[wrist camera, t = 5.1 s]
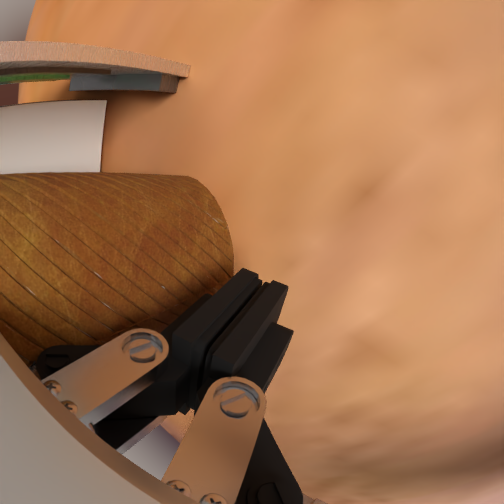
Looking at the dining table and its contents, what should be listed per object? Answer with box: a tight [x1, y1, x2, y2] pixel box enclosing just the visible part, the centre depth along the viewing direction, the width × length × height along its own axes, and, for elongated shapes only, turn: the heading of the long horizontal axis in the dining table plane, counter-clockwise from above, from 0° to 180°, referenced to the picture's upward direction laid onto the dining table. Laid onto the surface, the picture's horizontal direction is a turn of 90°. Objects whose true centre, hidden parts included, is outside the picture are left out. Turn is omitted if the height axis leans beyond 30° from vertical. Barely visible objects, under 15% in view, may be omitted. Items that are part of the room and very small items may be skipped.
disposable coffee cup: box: [0, 172, 234, 365], centre depth 9 cm, size 10×10×12 cm
